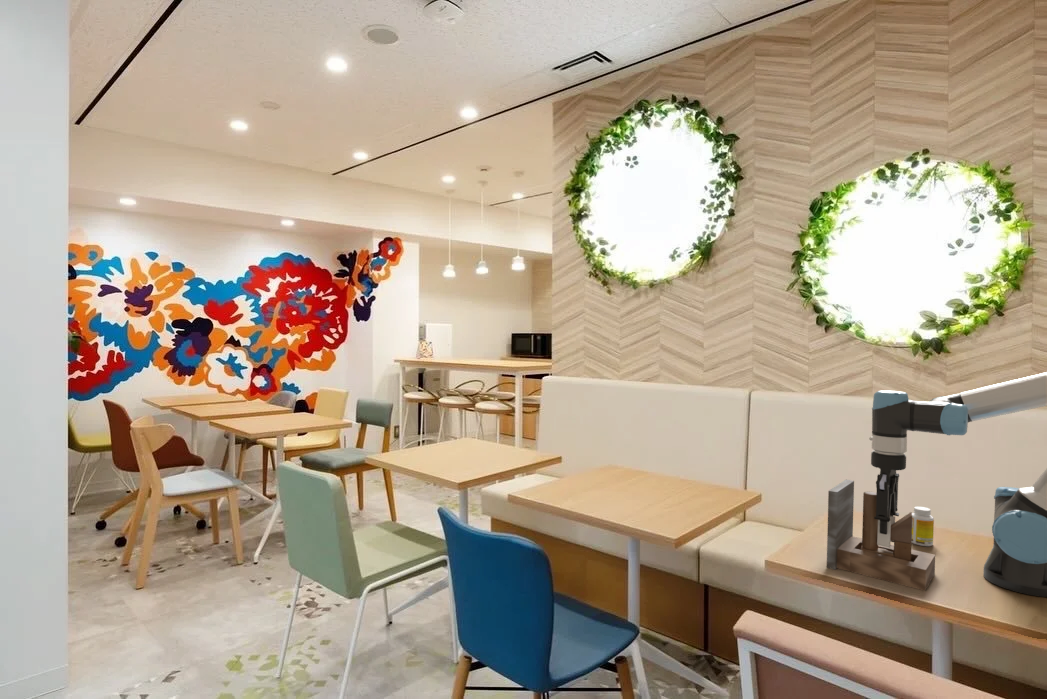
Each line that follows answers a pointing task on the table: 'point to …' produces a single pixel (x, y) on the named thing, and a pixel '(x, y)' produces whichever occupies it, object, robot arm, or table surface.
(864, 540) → the wooden block
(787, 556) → the table surface
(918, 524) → the supplement bottle
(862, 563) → the post block
